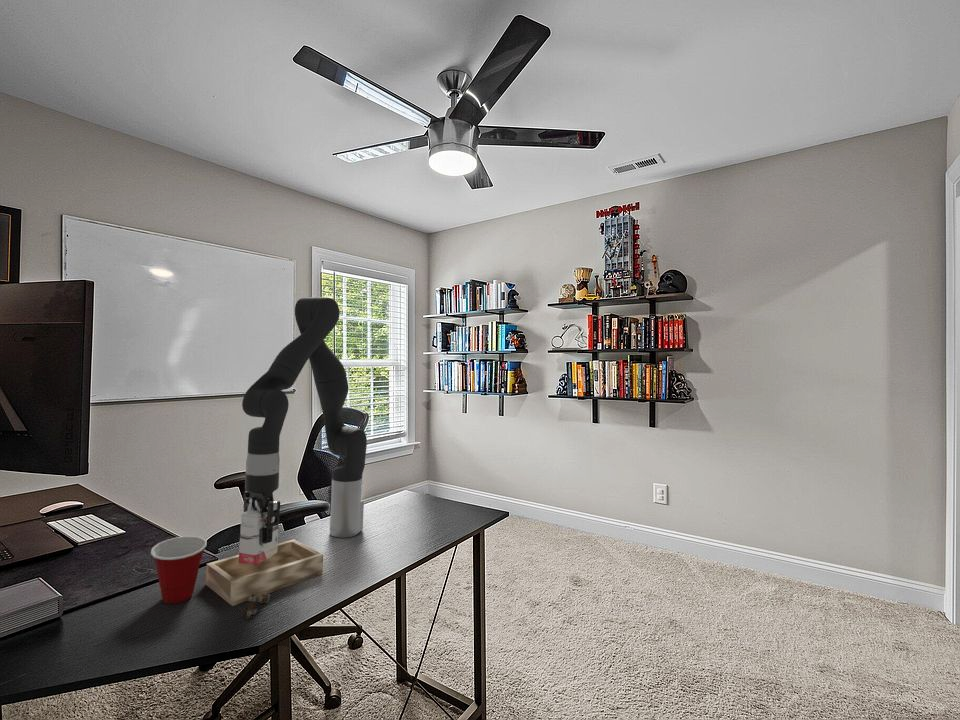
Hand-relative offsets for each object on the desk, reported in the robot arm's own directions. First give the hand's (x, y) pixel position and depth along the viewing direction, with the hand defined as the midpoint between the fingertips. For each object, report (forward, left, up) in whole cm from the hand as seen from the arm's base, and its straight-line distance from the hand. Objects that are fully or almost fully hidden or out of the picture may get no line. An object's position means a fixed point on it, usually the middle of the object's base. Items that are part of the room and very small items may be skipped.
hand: (259, 538), depth 119 cm
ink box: (0, 0, -5) cm, 5 cm away
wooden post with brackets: (+6, +13, -11) cm, 18 cm away
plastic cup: (+16, -5, -11) cm, 20 cm away
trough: (-2, 0, -11) cm, 11 cm away
